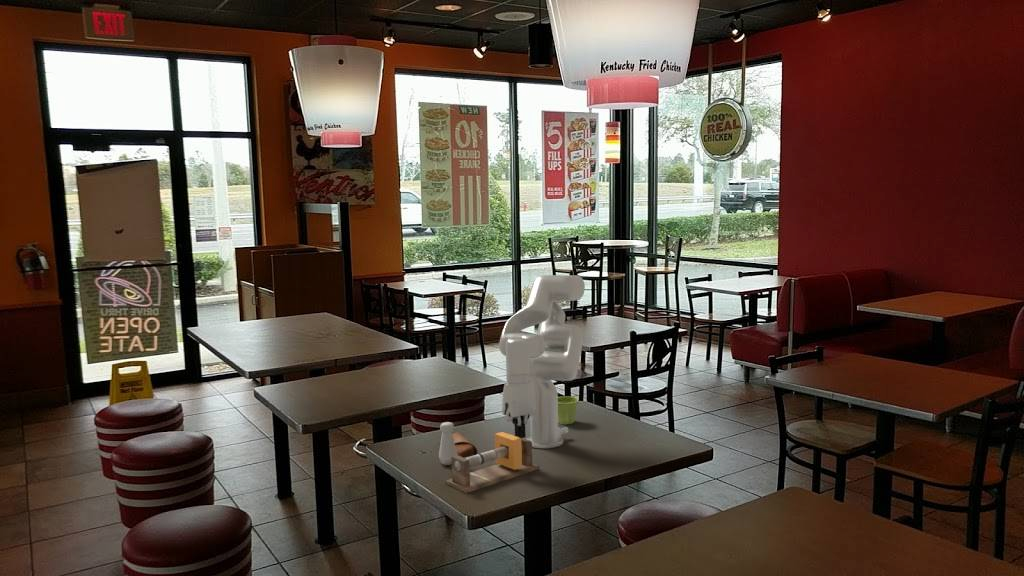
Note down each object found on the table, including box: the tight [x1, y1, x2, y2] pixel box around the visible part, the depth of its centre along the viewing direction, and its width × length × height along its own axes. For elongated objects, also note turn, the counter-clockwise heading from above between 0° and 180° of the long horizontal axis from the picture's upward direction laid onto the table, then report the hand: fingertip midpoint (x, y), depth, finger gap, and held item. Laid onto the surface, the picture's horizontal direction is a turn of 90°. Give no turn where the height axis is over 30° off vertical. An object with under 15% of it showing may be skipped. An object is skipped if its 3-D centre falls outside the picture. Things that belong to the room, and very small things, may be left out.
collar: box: [494, 431, 522, 470], centre depth 226 cm, size 3×9×9 cm, turn 40°
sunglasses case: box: [437, 430, 478, 457], centre depth 249 cm, size 18×7×7 cm
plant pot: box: [558, 396, 579, 426], centre depth 276 cm, size 9×9×9 cm
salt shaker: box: [438, 421, 457, 466], centre depth 235 cm, size 6×6×13 cm
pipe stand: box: [445, 438, 540, 494], centre depth 223 cm, size 28×10×8 cm, turn 130°
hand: (520, 436), depth 229 cm, fingers closed
